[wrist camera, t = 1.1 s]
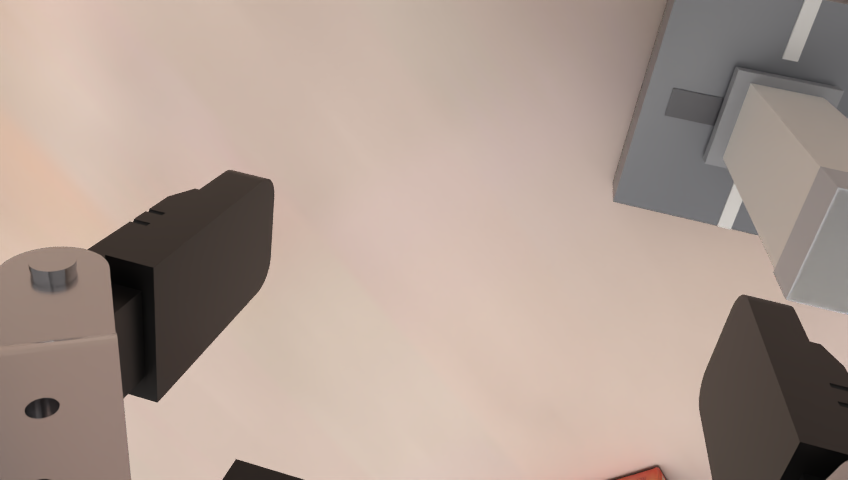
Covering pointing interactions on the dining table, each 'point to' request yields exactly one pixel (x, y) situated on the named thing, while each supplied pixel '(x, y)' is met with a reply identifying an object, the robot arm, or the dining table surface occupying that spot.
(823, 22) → the fader console
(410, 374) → the dining table surface
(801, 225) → the fader tab
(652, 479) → the cracker box
